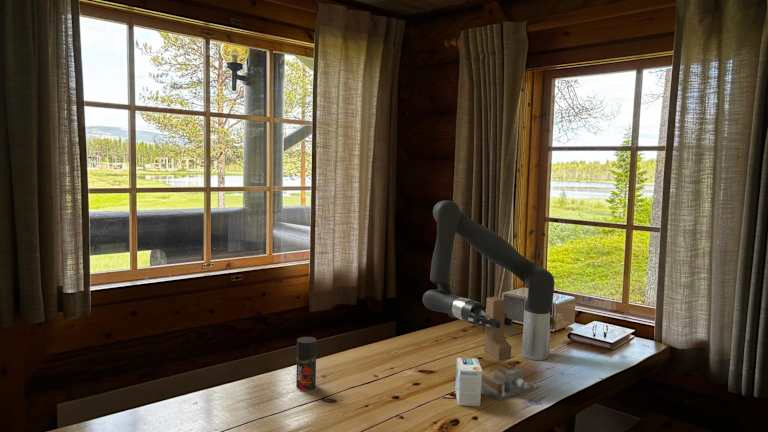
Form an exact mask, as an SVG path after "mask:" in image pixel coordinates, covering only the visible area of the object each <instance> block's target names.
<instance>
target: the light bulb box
mask: <svg viewBox="0 0 768 432" xmlns="http://www.w3.org/2000/svg"><path fill="white" fill-rule="evenodd" d="M482 374H483V369H482V367H481V364H480V361H479V359H478V358H476V357H475V358H472V357H471V358H469V357H467V358H464V357H456V369H455V389H454V392H455V397H456V402H457V405H458V406H468V407H480V406H481V400H482V399H481V398H482V397H481V396H482V392H481V383H482Z"/></svg>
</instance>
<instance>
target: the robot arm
mask: <svg viewBox="0 0 768 432" xmlns="http://www.w3.org/2000/svg"><path fill="white" fill-rule="evenodd" d="M432 216H433V219H434V220H435V222H436V228H437V229H436V230H437V231H436V232H437V233H436V239H435V246H434V250H433V254H432V259H431V263H430V264H431V265H430V275H429V280H430V282H432V283H433V284H436V285H437V289H429V290H427V291H425V292H424V293H423V296H422V303H423V305H424V306H425V308H427V309H428V310H431V311H434V312H437V313H444V314H448V315H450V316H451V317H456V318H457V319H458V320H461V321H463V322H466V323H468V324H471V325H474V326H480V327H485V325H487V326H492V327H495V328H498V329H499V328H501V322H500V321H497V320H495V319H491V318H490V317H488V314H486V306H485V305H484V304H483V303H482V302H479V301H476V300H473V299H470V298H466V297H461V296H459V295H455V294H452V289H451V282H450V277H451V276H450V275H451V268H452V267H451V266H452V256H453V248H454V241H455V236H456V235H458V236H460V237H461V238H462V239H463V240H465V242H466V243H467V244H469V245H470V246H471V247H472V248H473V249H475V250H476V251H477V252H478V253H480V254H481V255H482V256H483V257H485V258H486V259H487V260H489V261H490V262H491V263H493V264H495V265H496V266H497V265H498V266H499V267H501V268H503V269H505V270H507V271H509V272H511V273H512V274H513V275H514V276H515V277H517V278H518V279H519V280H520V281H521V282H522V283H523V284H525V286H526V287H527V288H528V289H527V290H528V291H527V299H526V301H525V302H524V309H523V310H524V313H523V327H522V329H523V331H522V343H521V346H522V347H521V355H522V357H523V358H524V359H525V358H526V359H528V360H532V361H543V360H544V361H545V360H546V359H548V357H549V356H550V347H551V346H550V345H551V330H550V323H551V308H552V306H553V304H554V303H553V301H554V292H555V278H554V275H552V273H551V272H550V271H549V270H547V269H546V268H544V267H542V266H541V265H538V264H537V263H534V262H533V261H531V260H529V259H527V258H526V257H524V256H523V255H522V254H520V252H518V251H517V249H516V248H515V247H513V246H512V244H510V243H509V242H508V241H507V240H505V238H504V237H502V236H500V234H498V233H496V232H494V230H491V229H489V228H488V227H486V226H484V225H482V224H480V223H478V222H476V221H475V220H473V219H471V218H470V217H469V216H467V215H466V214H465V213H464V212H462V210H461V208H460V207H459V205H458V204H457V203H456V202H455V201H452V200H448V199H447V200H446V199H445V200H441V201H438V202H437V203H436V204H435V205H434V206H433V209H432ZM504 326H508V327H512V326H513V319H512V318H509V317H508V314H507V313H505V320H504Z"/></svg>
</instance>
